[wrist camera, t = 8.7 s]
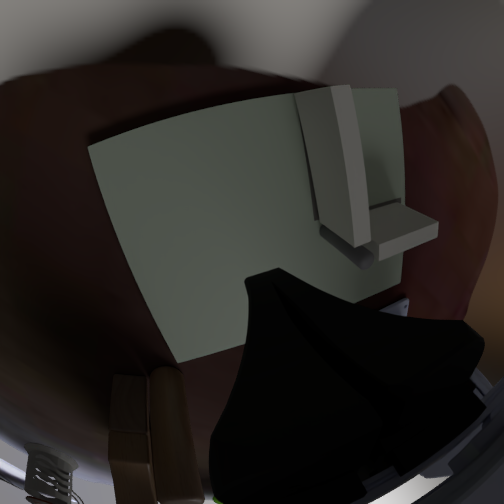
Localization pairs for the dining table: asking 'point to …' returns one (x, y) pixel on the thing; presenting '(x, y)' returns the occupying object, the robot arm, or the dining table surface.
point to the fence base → (386, 234)
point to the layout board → (237, 211)
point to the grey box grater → (51, 466)
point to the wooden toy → (152, 441)
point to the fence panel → (336, 161)
